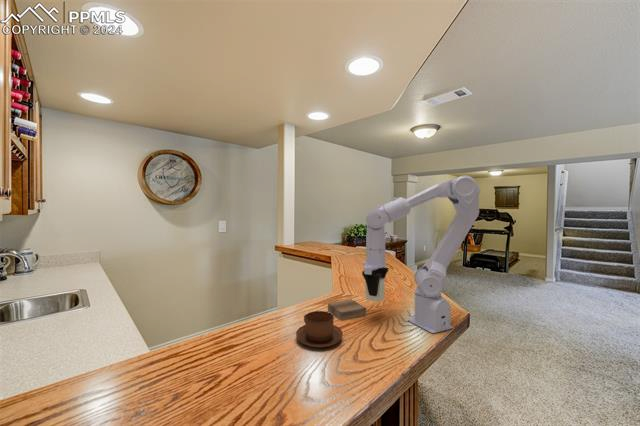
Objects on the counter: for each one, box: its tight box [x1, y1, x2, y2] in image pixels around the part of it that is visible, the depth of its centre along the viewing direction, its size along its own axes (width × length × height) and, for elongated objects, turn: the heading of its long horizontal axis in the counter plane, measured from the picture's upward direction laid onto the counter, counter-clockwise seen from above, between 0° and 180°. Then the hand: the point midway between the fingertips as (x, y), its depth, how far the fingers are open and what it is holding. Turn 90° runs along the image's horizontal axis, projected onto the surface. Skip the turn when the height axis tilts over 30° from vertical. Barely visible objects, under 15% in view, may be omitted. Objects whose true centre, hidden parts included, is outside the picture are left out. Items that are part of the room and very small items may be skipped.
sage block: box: [365, 277, 386, 303], centre depth 81 cm, size 4×4×6 cm
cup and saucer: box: [295, 310, 343, 348], centre depth 69 cm, size 12×12×6 cm
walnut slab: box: [327, 298, 367, 322], centre depth 86 cm, size 9×9×3 cm
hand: (375, 293), depth 81 cm, fingers closed on sage block, 4 cm apart
